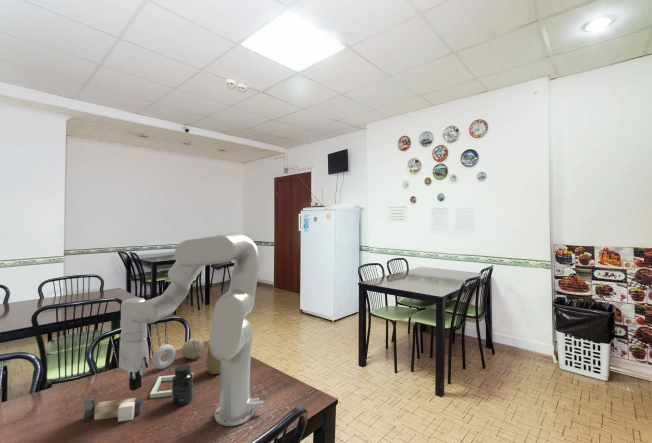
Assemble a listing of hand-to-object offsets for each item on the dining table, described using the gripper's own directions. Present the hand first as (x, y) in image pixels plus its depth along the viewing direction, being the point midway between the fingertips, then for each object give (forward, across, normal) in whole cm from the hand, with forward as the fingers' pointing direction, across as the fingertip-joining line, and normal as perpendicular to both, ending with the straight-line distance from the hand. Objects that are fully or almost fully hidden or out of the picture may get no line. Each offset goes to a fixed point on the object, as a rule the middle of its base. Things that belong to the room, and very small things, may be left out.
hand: (135, 388), depth 106 cm
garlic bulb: (+6, -15, +35) cm, 38 cm away
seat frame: (+6, 0, +14) cm, 16 cm away
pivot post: (+6, -7, -11) cm, 14 cm away
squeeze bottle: (+7, +5, +31) cm, 32 cm away
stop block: (+6, +4, -5) cm, 9 cm away
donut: (+6, -17, +22) cm, 28 cm away
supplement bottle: (+7, +11, +10) cm, 16 cm away
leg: (+6, 0, -5) cm, 8 cm away
